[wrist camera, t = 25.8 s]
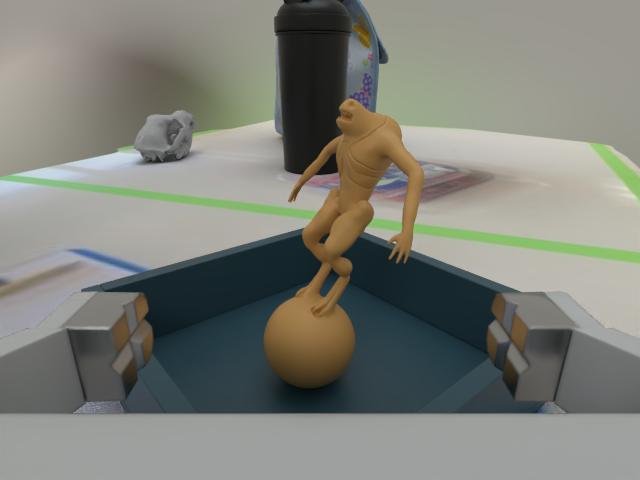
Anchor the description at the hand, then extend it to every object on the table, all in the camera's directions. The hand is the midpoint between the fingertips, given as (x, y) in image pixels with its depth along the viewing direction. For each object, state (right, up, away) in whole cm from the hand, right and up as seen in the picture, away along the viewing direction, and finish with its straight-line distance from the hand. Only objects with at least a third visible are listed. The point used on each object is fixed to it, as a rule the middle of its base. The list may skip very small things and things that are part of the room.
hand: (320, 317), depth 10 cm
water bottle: (-1, +12, +53) cm, 55 cm away
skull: (-24, +15, +61) cm, 67 cm away
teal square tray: (0, -5, +10) cm, 11 cm away
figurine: (0, -4, +10) cm, 11 cm away
